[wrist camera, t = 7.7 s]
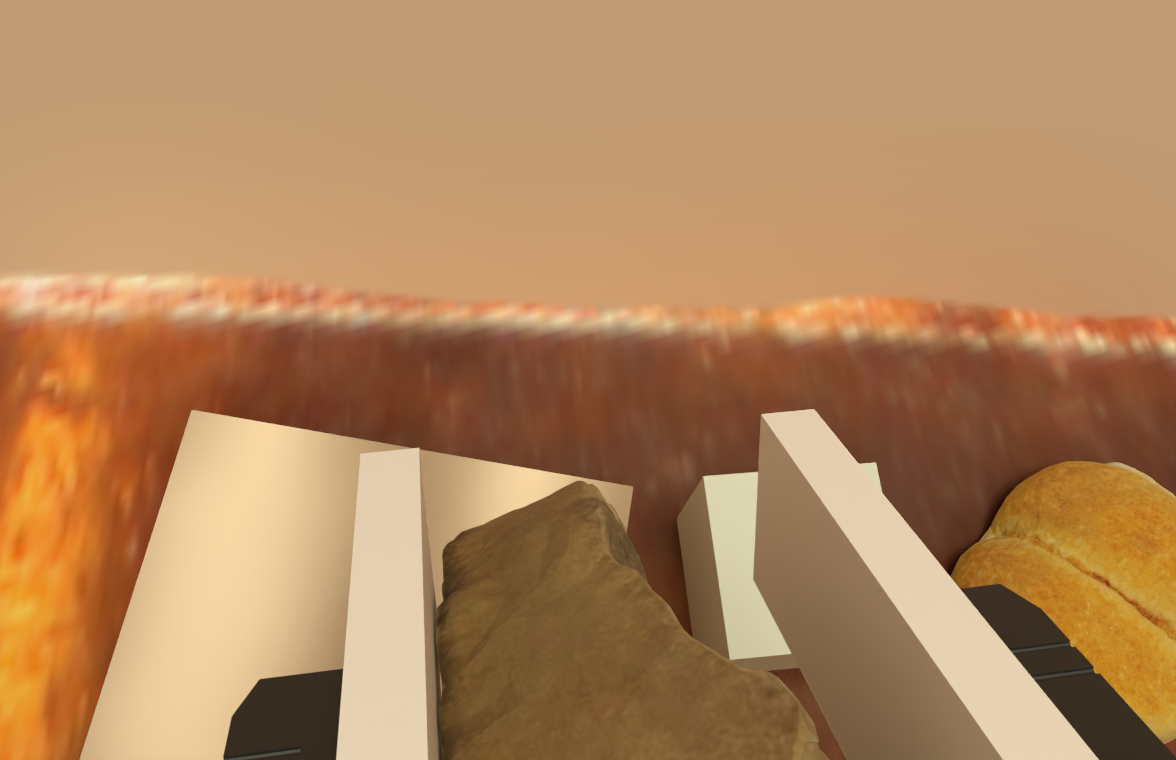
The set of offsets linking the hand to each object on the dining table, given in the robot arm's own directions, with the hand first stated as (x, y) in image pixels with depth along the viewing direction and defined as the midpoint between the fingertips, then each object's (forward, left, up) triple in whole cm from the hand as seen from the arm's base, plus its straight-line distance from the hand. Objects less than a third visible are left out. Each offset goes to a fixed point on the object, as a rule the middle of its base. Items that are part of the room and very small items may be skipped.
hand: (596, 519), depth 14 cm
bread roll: (+17, +5, -19) cm, 26 cm away
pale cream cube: (+6, +3, -19) cm, 20 cm away
